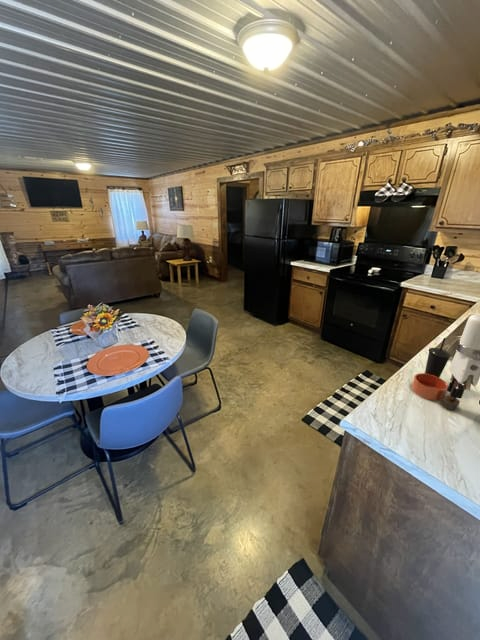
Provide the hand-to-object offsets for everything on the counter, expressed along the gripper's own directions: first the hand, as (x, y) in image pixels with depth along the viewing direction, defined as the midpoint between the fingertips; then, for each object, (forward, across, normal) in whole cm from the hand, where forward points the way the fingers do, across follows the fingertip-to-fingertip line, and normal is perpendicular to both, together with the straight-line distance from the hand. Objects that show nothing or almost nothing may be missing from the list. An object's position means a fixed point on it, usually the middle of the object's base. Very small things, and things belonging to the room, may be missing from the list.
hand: (453, 394), depth 95 cm
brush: (+6, 0, 0) cm, 6 cm away
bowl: (+6, +8, +5) cm, 11 cm away
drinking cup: (+6, +17, +1) cm, 18 cm away
